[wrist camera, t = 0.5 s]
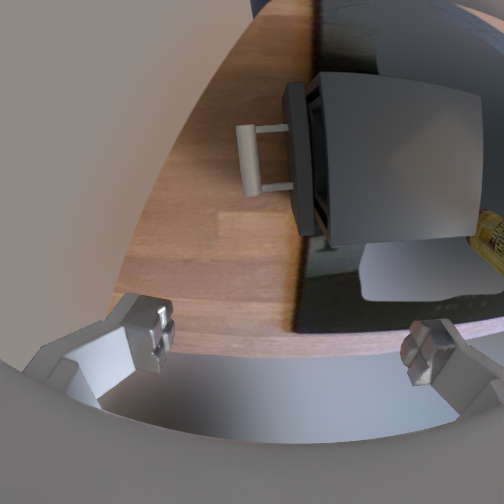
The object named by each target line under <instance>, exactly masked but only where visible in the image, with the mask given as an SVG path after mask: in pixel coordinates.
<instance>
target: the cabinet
mask: <svg viewBox="0 0 504 504" xmlns="http://www.w3.org/2000/svg"><path fill="white" fill-rule="evenodd" d="M305 96H306V105H307V115H308V125H309V137H310V149H311V164H312V180H313V201H314V215H315V217H316V219H317V221H318V223H319V225H320V227H321V229H322V231H323V233H324V235H325V237H326V239H327V241H328V243H329V245H330V246H335V245H349V244H363V243H376V242H392V241H406V240H420V239H435V238H449V237H464V236H475V235H476V230H477V223H478V216H479V208H480V200H481V189H482V172H483V124H482V109H481V99H480V96H478V95H474V94H471V93H468V92H464V91H461V90H457V89H453V88H449V87H445V86H441V85H437V84H432V83H427V82H422V81H417V80H411V79H405V78H398V77H391V76H383V75H373V74H362V73H346V72H319V73H318V74H317V75H316V77H315V78H314V79H313V80H312V81H311V83H310V84H309V85H308V86H307V87H306V89H305ZM319 96H320V100H321V110H322V121H323V133H324V146H325V162H326V182H327V215H326V213H325V212H324V210H323V209H322V207H321V206H320V204H319V203H318V201H317V200H316V198H315V181H314V164H313V150H312V137H311V125H310V115H309V105H308V104H309V103H311V102H312V101H314V100H315V99H316V98H318V97H319Z"/></svg>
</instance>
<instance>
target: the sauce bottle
mask: <svg viewBox="0 0 504 504" xmlns="http://www.w3.org/2000/svg"><path fill="white" fill-rule="evenodd" d="M466 239H467V241H468V243H469V244H470V245H471V247H472V248H473V250H474V251H476V252H477V253H478V254H479V255H480V256H482V257H483V258H484V259H485V260H486V261H487V262H488V263H489V264H490V265H491V266H493V267H494V268H495V269H496V270H497V271H498V272H499V273H500V274H501V275H502V276H503V277H504V219H503V218H502V217H500V216H499V215H497V214H495V213H494V212H492V211H488V210H487V209H479V216H478V223H477V230H476V235H475V236H466Z"/></svg>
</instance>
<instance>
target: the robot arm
mask: <svg viewBox="0 0 504 504" xmlns="http://www.w3.org/2000/svg"><path fill="white" fill-rule="evenodd" d="M172 312H173V306H172V302H171V300H167V299H162V298H156V297H151V296H146V295H140V294H134V293H126V294H125V295H124V296H123V297H122V299H121V300H120V301H119V302H118V304H117V305H116V306H115V308H114V309H113V310H112V312H111V313H110V314H109V316H108V317H107V318H106V320H105V321H98V322H96V323H94V324H91V325H89V326H87V327H84V328H82V329H80V330H78V331H75V332H73V333H71V334H69V335H67V336H64V337H62V338H60V339H57V340H55V341H53V342H51V343H48V344H47V345H44V346H42V347H41V348H40V350H39V351H38V352H37V353H36V354H35V356H34V357H33V358H32V360H31V361H30V362H29V364H28V365H27V366H26V368H25V369H24V370H23V372H20V371H18V370H16V369H15V368H13V367H12V366H10V365H8V364H7V363H5V362H3V361H2V360H0V504H504V368H503V367H502V366H500V365H499V364H497V363H496V362H495V361H493V360H491V359H490V358H489V357H487V356H486V355H484V354H483V353H481V352H480V351H478V350H476V349H475V348H474V347H472V346H468V345H467V344H466V342H465V341H464V339H463V338H462V336H461V335H460V333H459V332H458V331H457V329H456V328H455V326H454V325H453V324H452V322H451V321H450V320H448V319H436V320H415V321H414V322H413V323H412V324H411V326H410V328H409V330H410V334H409V335H408V336H407V337H406V338H405V339H404V341H403V343H402V345H401V351H400V355H401V359H402V362H403V364H404V365H406V366H407V367H408V372H407V374H408V376H409V378H410V381H411V383H412V385H413V386H420V385H429V384H431V386H432V387H433V388H434V389H435V390H436V391H437V392H438V393H439V394H440V395H441V396H442V397H443V398H444V399H445V400H446V401H447V402H448V403H449V404H450V405H451V406H452V407H453V408H454V409H455V410H456V412H458V414H459V415H460V416H459V417H458V418H457V419H456V421H454V422H451V423H447V424H444V425H440V426H436V427H433V428H429V429H424V430H420V431H416V432H411V433H406V434H401V435H395V436H389V437H384V438H376V439H369V440H360V441H350V442H337V443H320V444H319V443H318V444H280V443H278V444H277V443H260V442H247V441H237V440H228V439H219V438H213V437H207V436H200V435H195V434H189V433H184V432H180V431H175V430H170V429H166V428H162V427H158V426H154V425H150V424H146V423H143V422H139V421H135V420H132V419H129V418H126V417H122V416H119V415H116V414H113V413H110V412H107V411H105V410H102V408H101V407H100V405H99V403H98V401H97V398H99V397H100V396H101V395H103V394H104V393H106V392H107V391H108V390H110V389H111V388H112V387H114V386H115V385H117V384H118V383H119V382H121V381H122V380H123V379H125V378H126V377H127V376H129V375H130V374H131V373H133V372H134V371H135V370H136V369H138V370H143V371H148V372H153V373H158V374H161V372H162V369H163V366H164V364H165V362H166V352H167V351H169V350H170V349H171V347H172V344H173V340H174V335H175V325H174V321H173V320H172V319H171V315H172Z"/></svg>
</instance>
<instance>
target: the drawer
mask: <svg viewBox="0 0 504 504" xmlns="http://www.w3.org/2000/svg"><path fill="white" fill-rule="evenodd" d="M308 105H309V115H310V125H311V137H312V150H313V164H314V181H315V198H316V200H317V201H318V203H319V204H320V206H321V207H322V209H323V210H324V212H325V213H326V215H327V182H326V162H325V146H324V133H323V121H322V110H321V100H320V96H319V97H318V98H316V99H315V100H314V101H312V102H311V103H309V104H308ZM282 106H283V116H284V124H279V125H266V126H256V127H255V125H254V124H250V125H241V126H236V135H237V144H238V152H239V161H240V170H241V178H242V187H243V195H244V196H258V195H261V194H262V192H268V191H281V190H290V197H291V207H292V211H293V214H294V218H295V221H296V225H297V228H298V232H299V235H300V236H304V235H314V234H315V231H314V201H313V180H312V164H311V149H310V137H309V125H308V115H307V105H306V96H305V87H304V82H294V83H287V85H286V88H285V91H284V94H283V96H282ZM281 131H285V136H286V147H287V158H288V170H289V182H282V183H269V184H262V185H261V177H260V167H259V157H258V148H257V139H256V133H268V132H281Z"/></svg>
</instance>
